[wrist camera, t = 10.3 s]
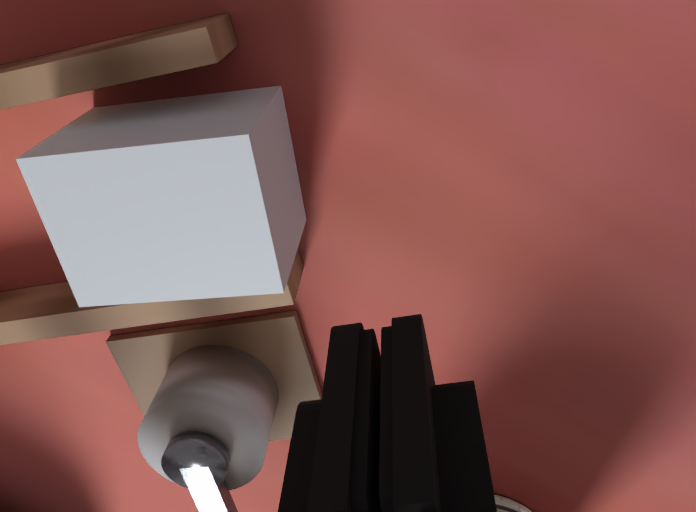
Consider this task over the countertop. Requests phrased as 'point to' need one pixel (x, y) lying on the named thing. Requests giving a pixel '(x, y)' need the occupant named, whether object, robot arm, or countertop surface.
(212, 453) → the crank
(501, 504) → the coffee can
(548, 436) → the countertop surface
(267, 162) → the white rectangular block
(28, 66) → the bay
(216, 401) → the winch
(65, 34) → the countertop surface
